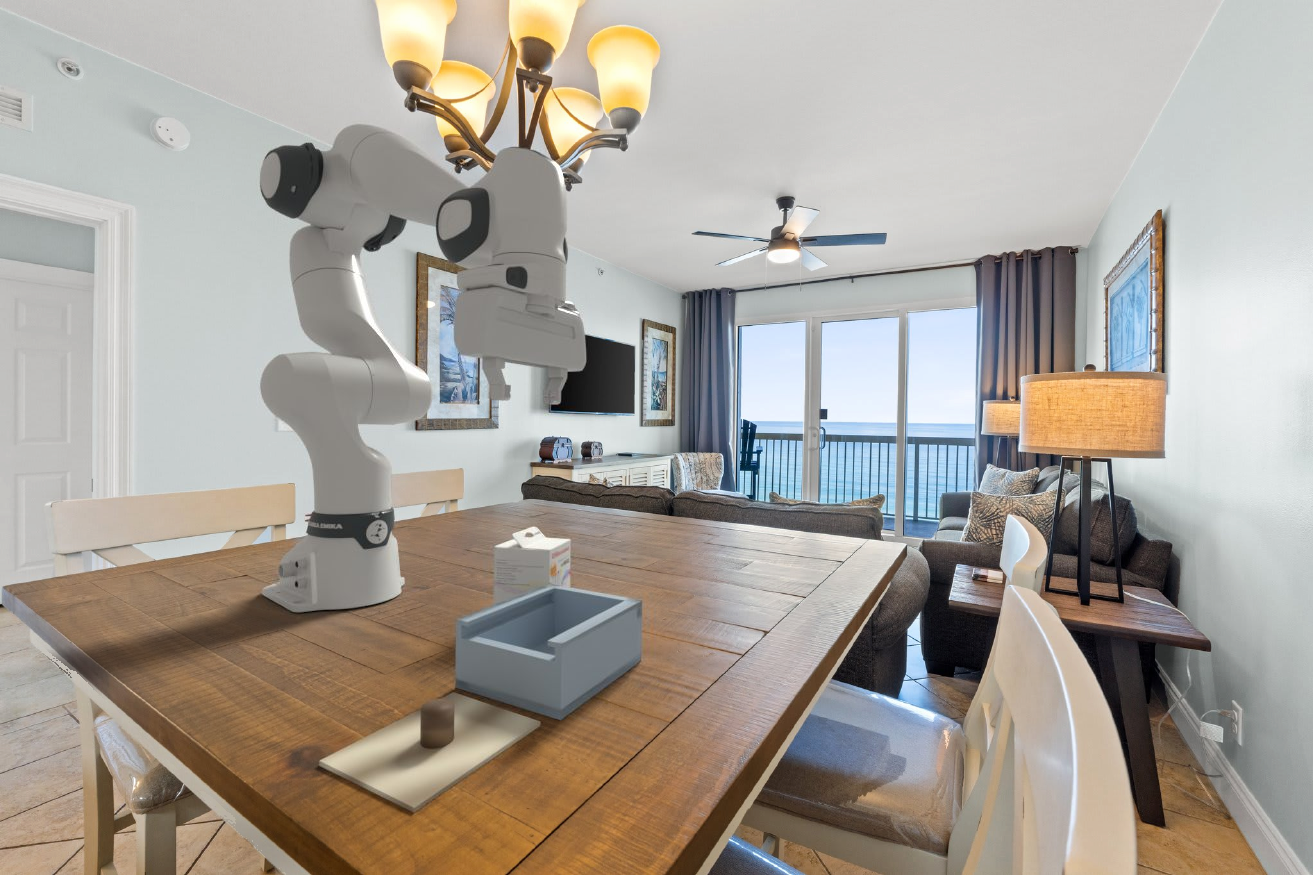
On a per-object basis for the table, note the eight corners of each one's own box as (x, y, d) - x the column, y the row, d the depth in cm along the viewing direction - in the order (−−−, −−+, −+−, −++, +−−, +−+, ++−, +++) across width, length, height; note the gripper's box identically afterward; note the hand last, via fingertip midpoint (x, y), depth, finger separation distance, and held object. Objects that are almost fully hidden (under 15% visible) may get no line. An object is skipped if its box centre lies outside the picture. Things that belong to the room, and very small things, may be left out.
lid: (319, 772, 47) (319, 724, 47) (453, 701, 59) (453, 663, 59) (414, 821, 41) (414, 767, 41) (540, 731, 54) (540, 690, 54)
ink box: (548, 636, 76) (550, 537, 76) (491, 630, 78) (492, 533, 78) (571, 615, 85) (572, 526, 85) (518, 611, 87) (520, 523, 86)
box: (455, 687, 61) (456, 619, 61) (548, 639, 75) (549, 583, 75) (560, 720, 55) (561, 643, 54) (641, 660, 69) (642, 600, 69)
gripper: (560, 307, 79) (559, 406, 80) (444, 269, 61) (443, 398, 61) (598, 303, 76) (596, 405, 77) (488, 262, 58) (487, 397, 58)
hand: (527, 402), depth 69 cm, fingers open, 8 cm apart
